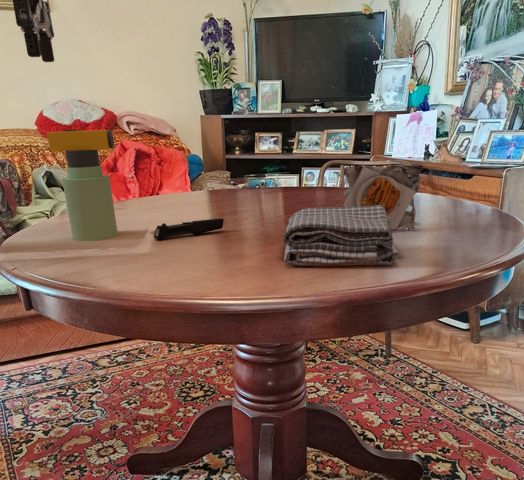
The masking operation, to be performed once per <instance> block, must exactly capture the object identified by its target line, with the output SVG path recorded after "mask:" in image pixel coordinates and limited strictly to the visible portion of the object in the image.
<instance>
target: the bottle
mask: <svg viewBox="0 0 524 480" xmlns="http://www.w3.org/2000/svg"><path fill="white" fill-rule="evenodd" d="M64 152H65V158H66V163H67V167H66V173H67V177H63V178H61V181H62V186H63V193H64V198H65V203H66V208H67V214H68V219H69V225H70V230H71V235H72V239H73V240H74V241H78V242H96V241H103V240H109V239H113V238H116V237H118V236H119V232H118V225H117V218H116V211H115V205H114V198H113V191H112V185H111V177H110V175H108V174H104V172H103V167H102V165H101V164H100V156H99V150H79V151H64Z"/></svg>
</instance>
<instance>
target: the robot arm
mask: <svg viewBox="0 0 524 480" xmlns="http://www.w3.org/2000/svg"><path fill="white" fill-rule="evenodd" d="M12 5H13V6H12V7H13V11H14V16H15V17H14V18H15V23H16V25H17V27H20V30H21V32H22V33H23V37H24V41H25V48H26V52H27V56H28V57H30V58H40V57H41V60H42V62H44V63H53V62H55V55H54V50H53V49H54V48H53V43H52V41H53V38H55V32H54V28H53V23H52V17H51V16H52V15H51V11H50V5H49V2H48V1H45V0H12Z"/></svg>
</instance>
